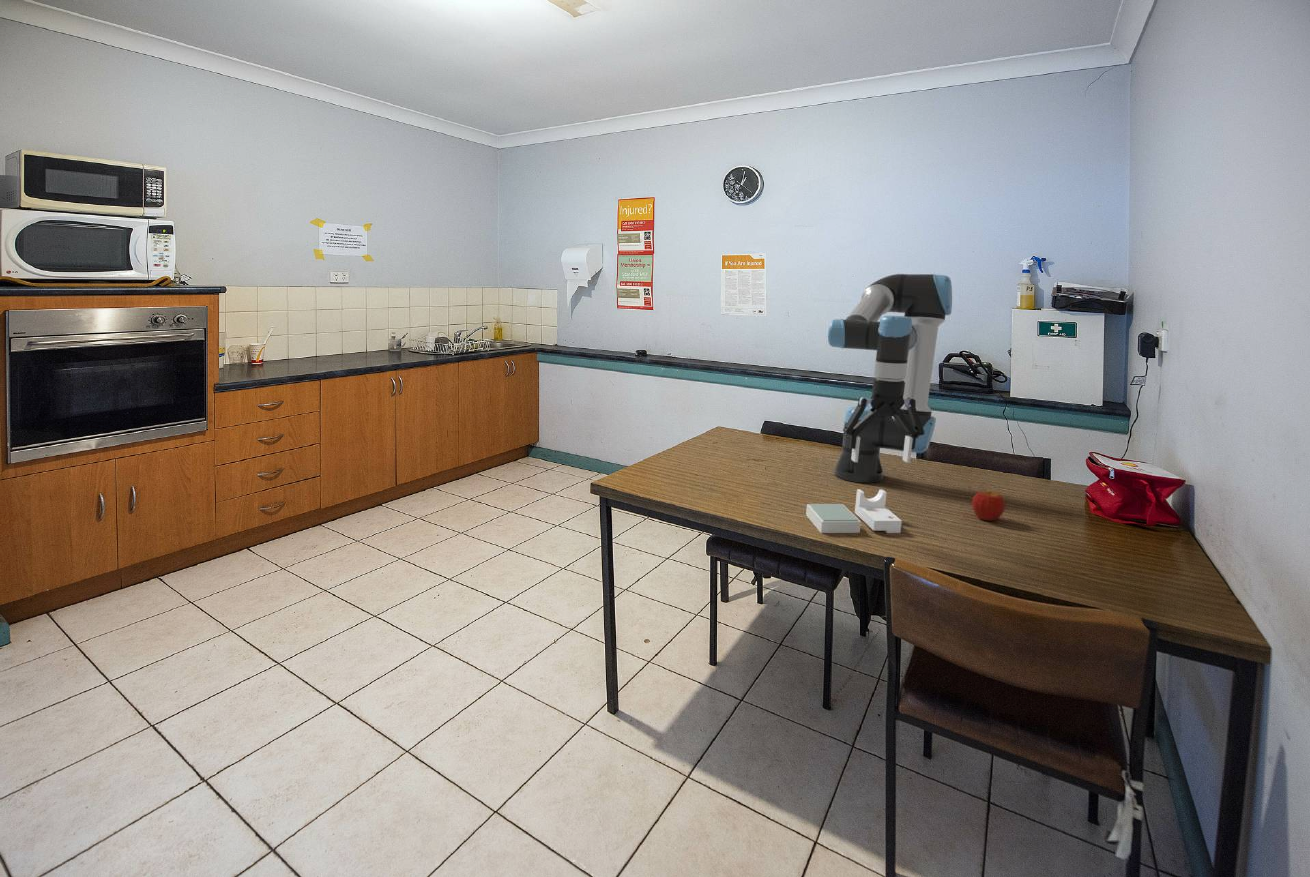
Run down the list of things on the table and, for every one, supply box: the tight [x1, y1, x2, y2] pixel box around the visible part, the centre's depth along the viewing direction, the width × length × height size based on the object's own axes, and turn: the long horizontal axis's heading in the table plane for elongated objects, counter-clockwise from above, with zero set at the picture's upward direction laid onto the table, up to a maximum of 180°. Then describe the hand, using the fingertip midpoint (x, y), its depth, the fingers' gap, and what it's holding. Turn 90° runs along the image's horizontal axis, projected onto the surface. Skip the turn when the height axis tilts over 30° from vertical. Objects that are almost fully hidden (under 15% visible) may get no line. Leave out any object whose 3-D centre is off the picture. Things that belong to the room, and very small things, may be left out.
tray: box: [805, 503, 862, 534], centre depth 172 cm, size 10×13×3 cm
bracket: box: [854, 488, 903, 534], centre depth 172 cm, size 13×7×8 cm, turn 4°
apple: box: [971, 491, 1006, 521], centre depth 178 cm, size 8×8×8 cm
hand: (880, 461), depth 169 cm, fingers open, 13 cm apart
